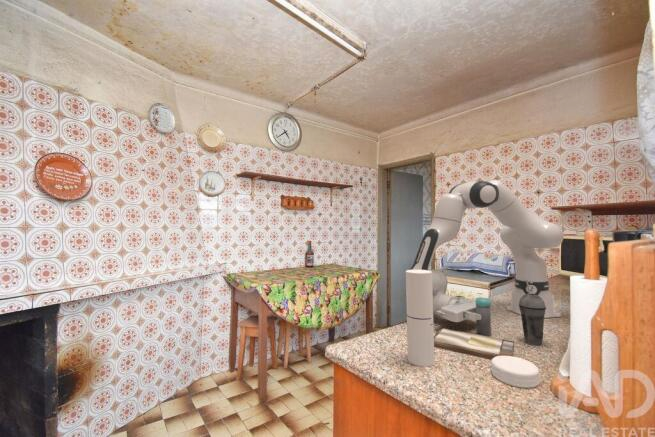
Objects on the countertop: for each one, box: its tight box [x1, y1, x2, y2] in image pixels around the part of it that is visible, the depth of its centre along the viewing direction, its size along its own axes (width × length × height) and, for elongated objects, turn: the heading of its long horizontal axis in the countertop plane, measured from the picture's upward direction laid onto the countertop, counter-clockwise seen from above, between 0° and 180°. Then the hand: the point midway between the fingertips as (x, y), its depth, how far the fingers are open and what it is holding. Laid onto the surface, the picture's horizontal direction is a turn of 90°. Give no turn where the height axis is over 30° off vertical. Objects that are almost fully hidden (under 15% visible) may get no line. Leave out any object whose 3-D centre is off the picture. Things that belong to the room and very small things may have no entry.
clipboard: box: [434, 327, 515, 361], centre depth 90 cm, size 15×22×2 cm
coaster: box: [490, 356, 540, 389], centre depth 71 cm, size 10×10×4 cm
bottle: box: [474, 297, 492, 337], centre depth 100 cm, size 5×5×12 cm
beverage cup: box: [519, 280, 546, 346], centre depth 92 cm, size 7×7×20 cm
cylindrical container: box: [405, 269, 435, 368], centre depth 81 cm, size 7×7×25 cm
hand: (485, 315), depth 99 cm, fingers closed on bottle, 4 cm apart
